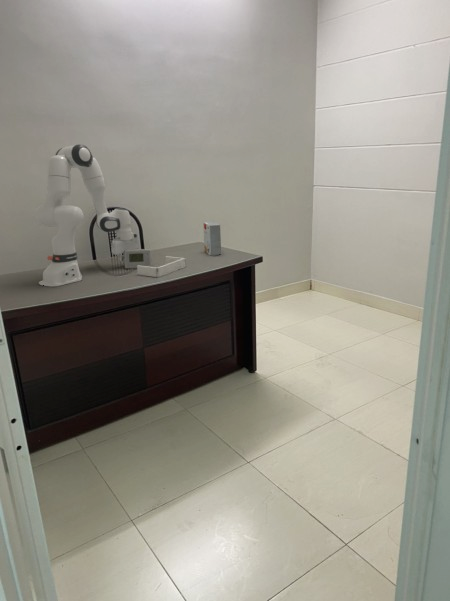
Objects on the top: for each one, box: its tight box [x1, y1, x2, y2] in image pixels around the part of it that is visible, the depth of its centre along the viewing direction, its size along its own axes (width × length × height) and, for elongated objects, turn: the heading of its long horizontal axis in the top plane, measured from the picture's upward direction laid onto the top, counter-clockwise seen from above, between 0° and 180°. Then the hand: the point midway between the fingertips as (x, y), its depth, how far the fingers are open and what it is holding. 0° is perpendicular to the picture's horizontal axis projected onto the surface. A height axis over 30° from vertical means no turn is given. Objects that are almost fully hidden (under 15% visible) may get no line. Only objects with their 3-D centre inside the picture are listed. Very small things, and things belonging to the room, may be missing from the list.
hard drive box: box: [202, 221, 222, 256], centre depth 280 cm, size 16×8×20 cm, turn 17°
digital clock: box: [123, 248, 153, 270], centre depth 248 cm, size 16×9×11 cm, turn 83°
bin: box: [136, 255, 187, 278], centre depth 240 cm, size 26×14×5 cm, turn 150°
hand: (126, 259), depth 252 cm, fingers open, 8 cm apart
